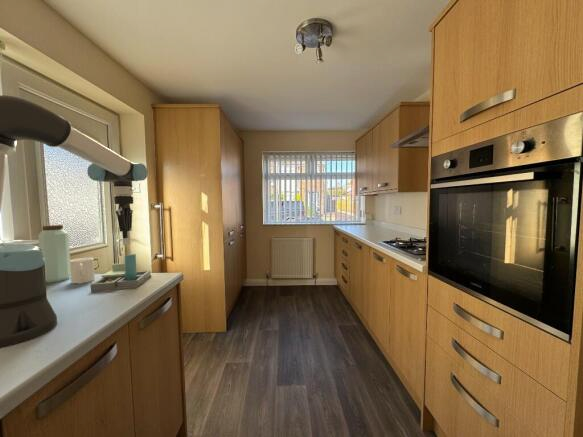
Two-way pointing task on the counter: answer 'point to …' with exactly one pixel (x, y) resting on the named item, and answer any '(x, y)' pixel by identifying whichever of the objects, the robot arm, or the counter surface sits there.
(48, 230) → the water bottle
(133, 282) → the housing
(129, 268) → the pin
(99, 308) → the counter surface
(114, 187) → the robot arm
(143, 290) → the counter surface
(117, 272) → the cover
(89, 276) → the mug
